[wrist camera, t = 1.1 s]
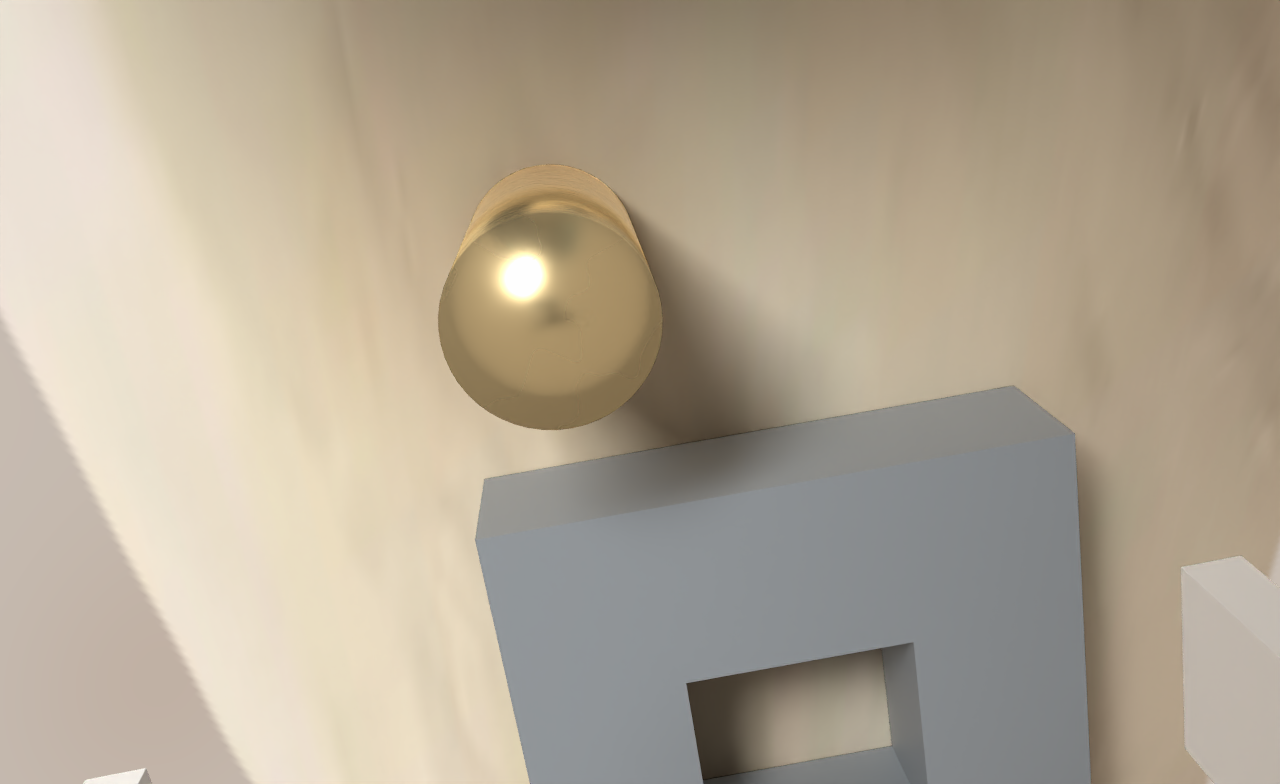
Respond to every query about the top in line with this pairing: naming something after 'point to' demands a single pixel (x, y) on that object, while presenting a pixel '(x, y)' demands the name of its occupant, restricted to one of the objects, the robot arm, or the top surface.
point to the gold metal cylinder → (550, 302)
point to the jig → (802, 592)
